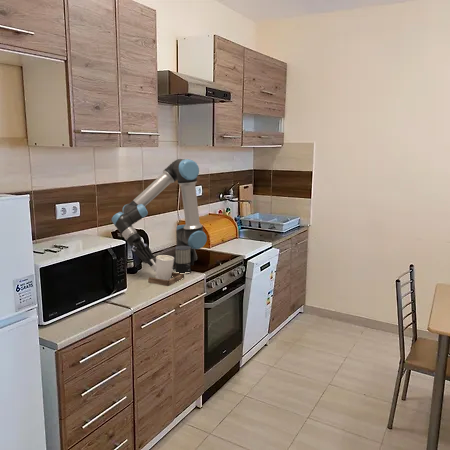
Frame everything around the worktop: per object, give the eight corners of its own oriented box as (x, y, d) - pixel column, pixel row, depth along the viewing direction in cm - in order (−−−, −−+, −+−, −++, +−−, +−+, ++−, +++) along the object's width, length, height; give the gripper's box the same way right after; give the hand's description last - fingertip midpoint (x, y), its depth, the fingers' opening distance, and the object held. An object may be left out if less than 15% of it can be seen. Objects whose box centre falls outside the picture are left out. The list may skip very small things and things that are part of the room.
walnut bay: (164, 275, 243) (164, 271, 242) (184, 278, 237) (184, 274, 237) (148, 282, 229) (148, 277, 229) (168, 285, 223) (168, 281, 223)
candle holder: (153, 275, 238) (155, 254, 236) (171, 276, 240) (173, 255, 238) (154, 281, 229) (156, 259, 226) (173, 282, 231) (175, 260, 229)
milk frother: (187, 275, 244) (187, 249, 241) (161, 272, 248) (161, 247, 246) (196, 269, 257) (196, 244, 255) (171, 266, 262) (171, 242, 259)
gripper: (135, 238, 247) (159, 271, 242) (120, 242, 235) (145, 276, 231) (142, 230, 244) (167, 263, 239) (127, 234, 232) (153, 268, 227)
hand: (156, 269), depth 235 cm, fingers closed
